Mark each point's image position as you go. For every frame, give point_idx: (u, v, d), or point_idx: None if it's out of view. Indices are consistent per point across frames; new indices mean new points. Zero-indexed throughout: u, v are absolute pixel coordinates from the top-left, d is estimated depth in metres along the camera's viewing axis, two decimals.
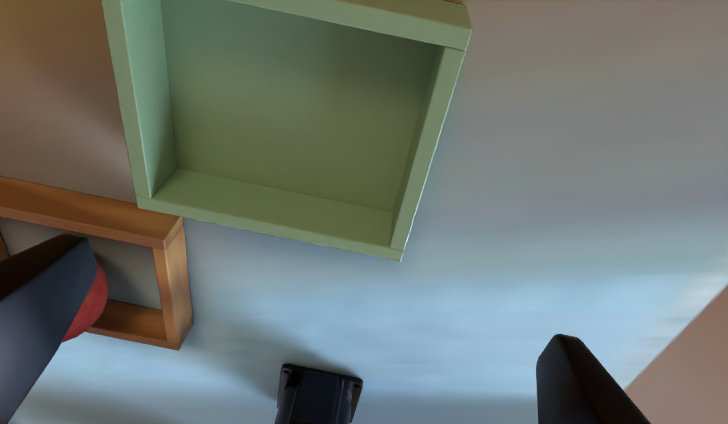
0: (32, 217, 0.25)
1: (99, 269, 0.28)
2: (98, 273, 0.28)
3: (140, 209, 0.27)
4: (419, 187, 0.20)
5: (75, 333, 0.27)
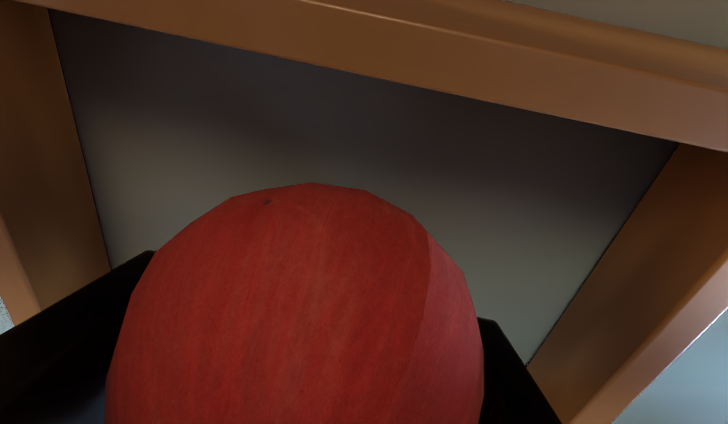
0: (308, 26, 0.06)
1: None
2: None
3: (656, 38, 0.07)
4: None
5: None
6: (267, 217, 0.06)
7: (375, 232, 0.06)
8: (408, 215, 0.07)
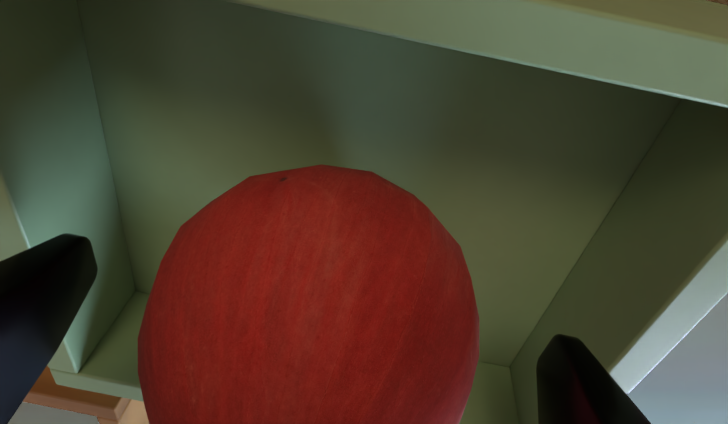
0: None
1: None
2: None
3: None
4: None
5: None
6: (284, 191, 0.07)
7: (381, 205, 0.07)
8: (410, 194, 0.08)
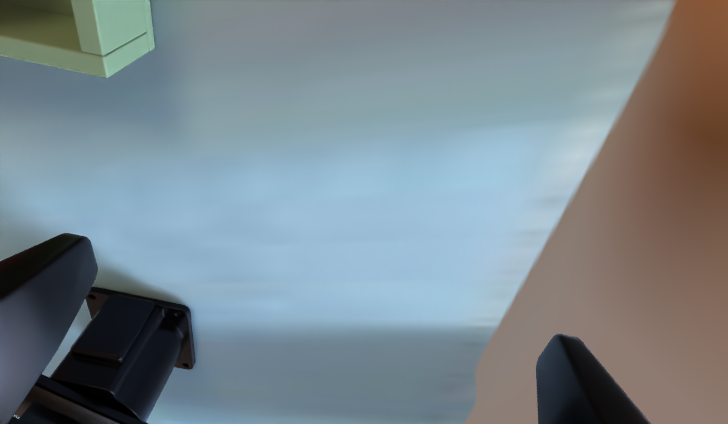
0: None
1: None
2: None
3: None
4: None
5: None
6: None
7: None
8: None
